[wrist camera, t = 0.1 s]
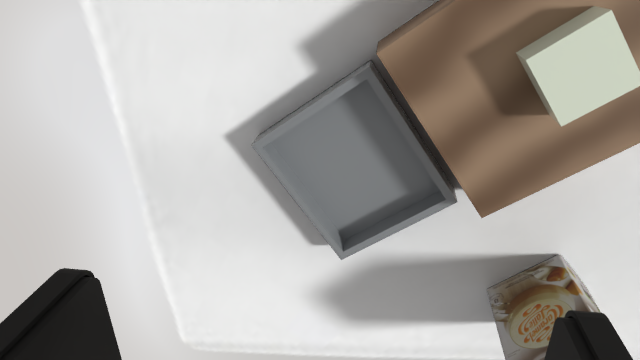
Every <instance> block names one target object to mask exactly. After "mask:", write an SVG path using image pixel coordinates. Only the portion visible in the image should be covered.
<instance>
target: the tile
mask: <svg viewBox="0 0 640 360" xmlns="http://www.w3.org/2000/svg"><path fill="white" fill-rule="evenodd" d="M516 54H517V56H518V58H519V60H520V61H521V63H522V65H523V67H524V69H525V71H526V73H527V74H528V76H529V78H530V80H531V82H532V84H533V86H534V87H535V89H536V91H537V93H538V95H539V97H540V99H541V100H542V102H543V104H544V106H545V108H546V110H547V112H548V113H549V115H550V116H551V117H552V118H553V119H554V120H555V121H556V122H557V123H558V124H559V125H560V126H561V127H562V126H564V125H566V124H568V123H569V122H571V121H573V120H575V119H577V118H579V117H581V116H583V115H585V114H587V113H589V112H591V111H593V110H595V109H597V108H598V107H600V106H602V105H604V104H606V103H608V102H610V101H612V100H614V99H616V98H618V97H620V96H622V95H624V94H625V93H627V92H629V91H631V90H633V89H635V88H637V87H639V86H640V71H639V69H638V67H637V65H636V62H635V60H634V58H633V56H632V54H631V51H630V49H629V47H628V45H627V43H626V40H625V38H624V36H623V34H622V32H621V29H620V27H619V25H618V23H617V21H616V18H615V16H614V14H613V12H612V10H610V9H606V8H601V7H597V6H593V7H591V8H590V9H588V10H586V11H585V12H583V13H581V14H580V15H578V16H576V17H575V18H573V19H571V20H570V21H568V22H566V23H565V24H563V25H561V26H560V27H558V28H556V29H555V30H553V31H551V32H550V33H548V34H546V35H545V36H543V37H541V38H540V39H538V40H536V41H534V42H533V43H531V44H529V45H528V46H526V47H524V48H523V49H521V50H519V51H518V52H516Z"/></svg>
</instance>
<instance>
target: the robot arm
mask: <svg viewBox="0 0 640 360" xmlns="http://www.w3.org/2000/svg"><path fill="white" fill-rule="evenodd" d="M0 360H122V359H121V355H120V352H119V348H118V345H117V341H116V337H115V334H114V330H113V326H112V323H111V319H110V316H109V312H108V308H107V305H106V302H105V298H104V294H103V291H102V287H101V284H100V281H99V280H98V279H97V278H95V277H94V275H93V273H92V272H91V271H88V270H78V269H66V268H64V269H60V270H58V271H57V272H56V273H54V274H53V275H52V276H51V277H50V278H49V279H48V280H47V281H46V282H45V283H44V284H42V285H41V286H40V287H39V288H38V289H37V290H36V291H35V292H34V293H33V294H32V295H31V296H30V297H28V299H26V300H25V301H24V302H23V303H22V304H21V305H20V306H19V307H18V308H17V309H16V310H14V311H13V312H12V313H11V314H10V315H9V316H8V317H7V318H6V319H5V320H4V321H3V322H1V323H0ZM544 360H633V359H632V357H631V356H630V354H629V352H628V351H627V349H626V347H625V346H624V344H623V342H622V341H621V339H620V337H619V336H618V334H617V332H616V331H615V329H614V327H613V326H612V324H611V322H610V321H609V319H608V318H607V316H606V315H605V314H603V313H599V312H587V311H575V310H569V311H568V312H567V313H566V314H565V317H557V318H556V320H555V322H554V326H553V330H552V333H551V337H550V340H549V344H548V348H547V351H546V355H545V359H544Z"/></svg>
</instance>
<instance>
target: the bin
mask: <svg viewBox="0 0 640 360" xmlns="http://www.w3.org/2000/svg"><path fill="white" fill-rule="evenodd" d="M252 147H253V148H254V149H255V151H256V152H257V153H258V154H259V156H260V157H261V158H262V159H263V161H264V162H265V163H266V165H267V166H268V167H269V168H270V170H271V171H272V172H273V174H274V175H275V176H276V177H277V179H278V180H279V181H280V182H281V184H282V185H283V186H284V188H285V189H286V190H287V191H288V193H289V194H290V195H291V196H292V198H293V199H294V200H295V202H296V203H297V204H298V205H299V207H300V208H301V209H302V211H303V212H304V213H305V214H306V216H307V217H308V218H309V219H310V221H311V222H312V223H313V225H314V226H315V227H316V228H317V230H318V231H319V232H320V233H321V235H322V236H323V237H324V239H325V240H326V241H327V242H328V244H329V245H330V246H331V248H332V249H333V250H334V251H335V253H336V254H337V255H338V256H339V258H340V259H341V260H342V259H344V258H346V257H348V256H350V255H352V254H354V253H356V252H358V251H360V250H362V249H364V248H366V247H368V246H370V245H372V244H374V243H376V242H378V241H380V240H382V239H384V238H386V237H388V236H390V235H392V234H394V233H396V232H398V231H400V230H402V229H404V228H406V227H408V226H410V225H412V224H414V223H416V222H418V221H420V220H422V219H424V218H426V217H428V216H430V215H432V214H434V213H436V212H438V211H440V210H442V209H444V208H446V207H448V206H450V205H452V204H454V203H456V202H457V198H456V195H455V191H454V188H453V186H452V185H451V183H450V182H449V180H448V179H447V177H446V176H445V174H444V172H443V171H442V169H441V168H440V166H439V165H438V163H437V162H436V160H435V159H434V157H433V155H432V154H431V152H430V151H429V149H428V148H427V146H426V145H425V143H424V142H423V140H422V138H421V137H420V135H419V134H418V132H417V131H416V129H415V128H414V126H413V125H412V123H411V121H410V120H409V118H408V117H407V115H406V114H405V112H404V111H403V109H402V108H401V106H400V104H399V103H398V101H397V100H396V98H395V97H394V95H393V94H392V92H391V91H390V89H389V88H388V86H387V84H386V83H385V81H384V80H383V78H382V77H381V75H380V74H379V72H378V71H377V69H376V67H375V66H374V64H373V63H372V61H371V60H370V61H368V62H367V63H365V64H364V65H362V66H361V67H360V68H358V69H357V70H355V71H354V72H352V73H351V74H349V75H348V76H346V77H345V78H343V79H342V80H340V81H339V82H337V83H336V84H334V85H333V86H331V87H330V88H328V89H327V90H325V91H324V92H322V93H321V94H319V95H318V96H316V97H315V98H313V99H312V100H310V101H309V102H307V103H306V104H304V105H303V106H301V107H300V108H299V109H297V110H296V111H294V112H293V113H291V114H290V115H288V116H287V117H285V118H284V119H282V120H281V121H279V122H278V123H276V124H275V125H273V126H272V127H270V128H269V129H267V130H266V131H264V132H263V133H261V134H260V135H259V136H258V137H257V138H256V140H255V141H254V142H253V144H252Z"/></svg>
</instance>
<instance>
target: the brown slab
mask: <svg viewBox="0 0 640 360" xmlns="http://www.w3.org/2000/svg"><path fill="white" fill-rule="evenodd" d="M593 6H597V7H601V8H606V9H610V10H612V12H613V14H614V16H615V18H616V21H617V23H618V25H619V27H620V29H621V32H622V34H623V36H624V38H625V40H626V43H627V45H628V47H629V49H630V51H631V54H632V56H633V58H634V60H635V62H636V65H637V67H638V69H639V71H640V0H439V1H437V2H436V3H434V4H433V5H432V6H430V7H429V8H427V9H426V10H424V11H423V12H421V13H420V14H418V15H417V16H415V17H414V18H413V19H411V20H410V21H408V22H407V23H405V24H404V25H402V26H401V27H399V28H398V29H396V30H395V31H394V32H392V33H391V34H389V35H388V36H386V37H385V38H383V39H382V40H380V41H379V42H378V47H377V53H376V54H377V55H378V57H379V59H380V60H381V62H382V63H383V65H384V66H385V68H386V70H387V71H388V73H389V74H390V76H391V77H392V79H393V80H394V82H395V84H396V85H397V87H398V88H399V90H400V91H401V93H402V95H403V96H404V98H405V99H406V101H407V102H408V104H409V105H410V107H411V109H412V110H413V112H414V113H415V115H416V116H417V118H418V120H419V121H420V123H421V124H422V126H423V127H424V129H425V130H426V132H427V134H428V135H429V137H430V138H431V140H432V141H433V143H434V144H435V146H436V148H437V149H438V151H439V152H440V154H441V155H442V157H443V159H444V160H445V162H446V163H447V165H448V166H449V168H450V169H451V171H452V173H453V174H454V176H455V177H456V179H457V180H458V182H459V184H460V185H461V187H462V188H463V190H464V191H465V193H466V194H467V196H468V198H469V199H470V201H471V202H472V204H473V205H474V207H475V208H476V210H477V212H478V213H479V215H480V216H481V218H483V217H485V216H487V215H489V214H491V213H493V212H496V211H498V210H500V209H502V208H504V207H506V206H508V205H510V204H512V203H514V202H517V201H519V200H521V199H523V198H525V197H527V196H529V195H531V194H533V193H535V192H538V191H540V190H542V189H544V188H546V187H548V186H550V185H552V184H554V183H556V182H559V181H561V180H563V179H565V178H567V177H569V176H571V175H573V174H575V173H577V172H580V171H582V170H584V169H586V168H588V167H590V166H592V165H594V164H596V163H599V162H601V161H603V160H605V159H607V158H609V157H611V156H613V155H615V154H617V153H620V152H622V151H624V150H626V149H628V148H630V147H632V146H634V145H636V144H638V143H640V86H639V87H637V88H635V89H633V90H631V91H629V92H627V93H625V94H624V95H622V96H620V97H618V98H616V99H614V100H612V101H610V102H608V103H606V104H604V105H602V106H600V107H598V108H597V109H595V110H593V111H591V112H589V113H587V114H585V115H583V116H581V117H579V118H577V119H575V120H573V121H571V122H569V123H568V124H566V125H564V126H562V127H561V126H560V125H559V124H558V123H557V122H556V121H555V120H554V119H553V118H552V117H551V116H550V115H549V113H548V112H547V110H546V108H545V106H544V104H543V102H542V100H541V99H540V97H539V95H538V93H537V91H536V89H535V87H534V86H533V84H532V82H531V80H530V78H529V76H528V74H527V73H526V71H525V69H524V67H523V65H522V63H521V61H520V60H519V58H518V56H517V54H516V52H518V51H519V50H521V49H523V48H524V47H526V46H528V45H529V44H531V43H533V42H534V41H536V40H538V39H540V38H541V37H543V36H545V35H546V34H548V33H550V32H551V31H553V30H555V29H556V28H558V27H560V26H561V25H563V24H565V23H566V22H568V21H570V20H571V19H573V18H575V17H576V16H578V15H580V14H581V13H583V12H585V11H586V10H588V9H590V8H591V7H593Z"/></svg>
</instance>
